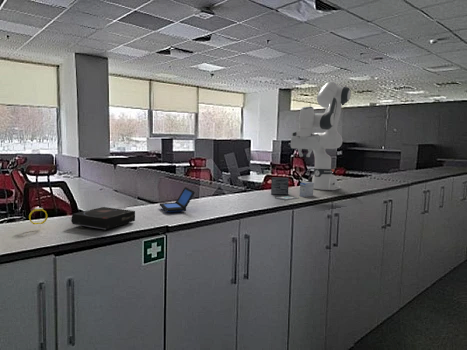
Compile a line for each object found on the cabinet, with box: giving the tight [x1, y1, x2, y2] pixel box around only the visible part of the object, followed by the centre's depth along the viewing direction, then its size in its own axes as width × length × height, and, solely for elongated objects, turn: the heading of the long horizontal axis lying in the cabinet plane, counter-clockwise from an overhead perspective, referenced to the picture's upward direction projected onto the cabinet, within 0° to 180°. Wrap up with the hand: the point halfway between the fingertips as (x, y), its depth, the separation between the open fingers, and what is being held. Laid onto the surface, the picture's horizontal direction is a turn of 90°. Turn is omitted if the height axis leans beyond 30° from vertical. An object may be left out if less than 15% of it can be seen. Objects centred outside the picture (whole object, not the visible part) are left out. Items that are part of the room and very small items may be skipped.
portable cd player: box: [70, 206, 136, 230], centre depth 141 cm, size 16×17×4 cm
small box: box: [270, 176, 290, 196], centre depth 223 cm, size 11×6×10 cm, turn 84°
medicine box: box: [299, 181, 314, 198], centre depth 218 cm, size 8×4×9 cm, turn 130°
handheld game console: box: [159, 186, 195, 213], centre depth 171 cm, size 16×13×9 cm
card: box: [274, 195, 299, 201], centre depth 209 cm, size 12×8×1 cm, turn 129°
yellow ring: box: [28, 207, 48, 225], centre depth 134 cm, size 6×3×6 cm, turn 127°
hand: (304, 156), depth 217 cm, fingers open, 4 cm apart
